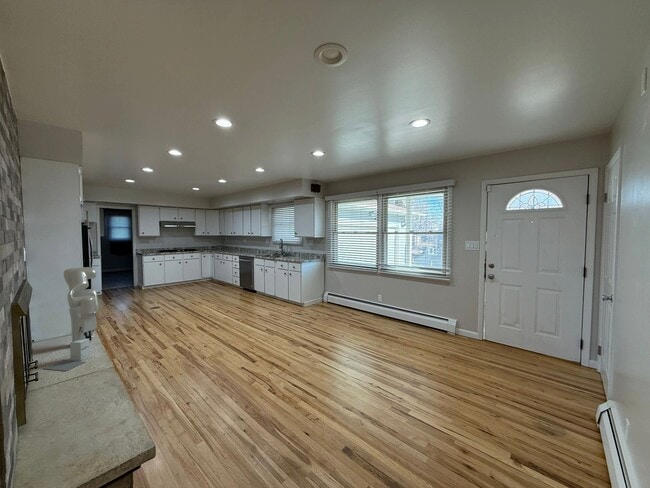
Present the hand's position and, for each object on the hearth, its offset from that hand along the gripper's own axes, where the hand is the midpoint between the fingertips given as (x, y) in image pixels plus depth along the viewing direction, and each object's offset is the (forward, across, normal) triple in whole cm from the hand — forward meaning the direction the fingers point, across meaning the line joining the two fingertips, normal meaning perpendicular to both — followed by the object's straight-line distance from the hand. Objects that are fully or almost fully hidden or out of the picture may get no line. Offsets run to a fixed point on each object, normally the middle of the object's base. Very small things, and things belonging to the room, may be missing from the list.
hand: (88, 340), depth 196 cm
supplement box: (+10, +6, 0) cm, 12 cm away
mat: (+10, +16, +1) cm, 19 cm away
